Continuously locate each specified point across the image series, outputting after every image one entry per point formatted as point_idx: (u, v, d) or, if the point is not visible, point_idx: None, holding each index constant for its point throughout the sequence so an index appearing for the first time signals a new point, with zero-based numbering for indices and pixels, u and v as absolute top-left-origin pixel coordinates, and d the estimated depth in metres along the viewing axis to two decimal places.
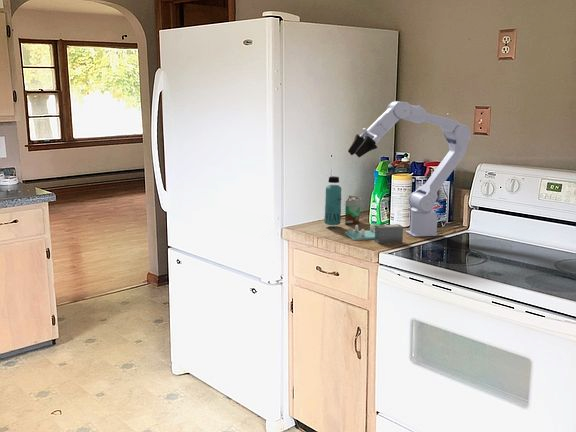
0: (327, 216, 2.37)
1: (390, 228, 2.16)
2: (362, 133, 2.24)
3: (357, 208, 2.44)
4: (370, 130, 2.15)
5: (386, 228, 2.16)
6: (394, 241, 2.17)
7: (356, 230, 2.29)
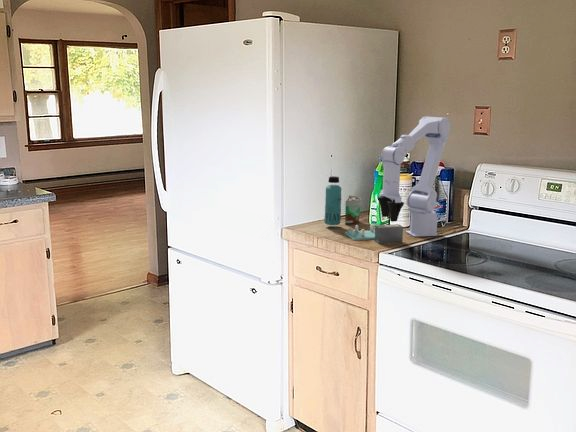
0: (327, 216, 2.37)
1: (390, 228, 2.16)
2: (380, 191, 2.22)
3: (357, 208, 2.44)
4: (386, 192, 2.13)
5: (386, 228, 2.16)
6: (394, 241, 2.17)
7: (356, 230, 2.29)
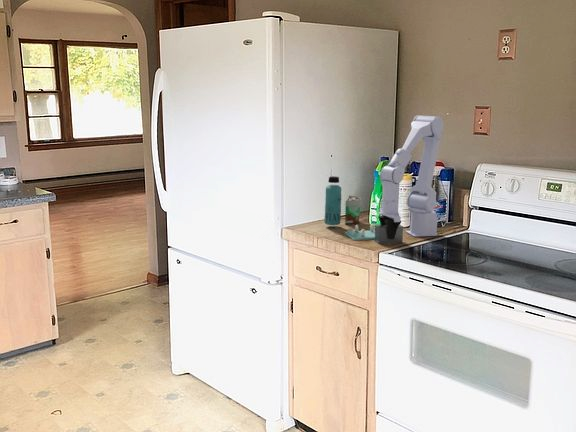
0: (327, 216, 2.37)
1: None
2: (380, 209, 2.23)
3: (357, 208, 2.44)
4: (385, 211, 2.15)
5: (386, 228, 2.16)
6: (394, 241, 2.17)
7: (356, 230, 2.29)
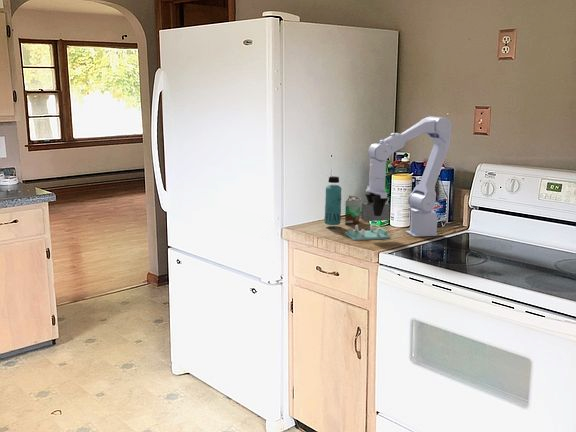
0: (327, 216, 2.37)
1: None
2: (367, 187, 2.26)
3: (357, 208, 2.44)
4: (372, 188, 2.18)
5: (373, 205, 2.19)
6: (381, 218, 2.21)
7: (356, 230, 2.29)
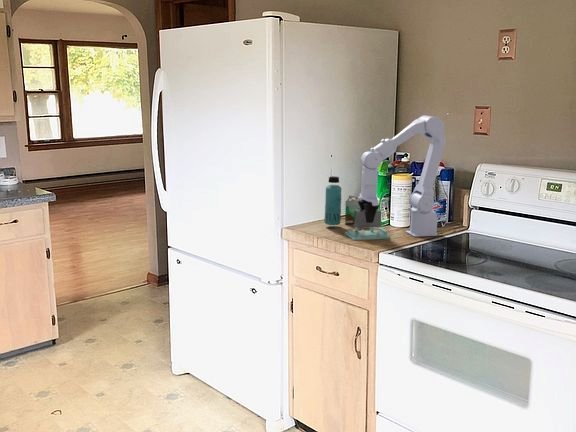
0: (327, 216, 2.37)
1: None
2: None
3: (357, 208, 2.44)
4: (364, 195, 2.22)
5: (365, 212, 2.23)
6: (372, 225, 2.25)
7: (356, 230, 2.29)
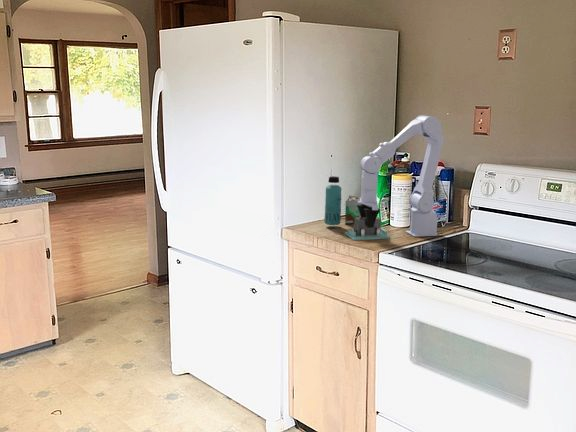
0: (327, 216, 2.37)
1: None
2: (359, 198, 2.31)
3: (357, 208, 2.44)
4: (364, 200, 2.22)
5: (364, 220, 2.24)
6: (372, 233, 2.25)
7: None
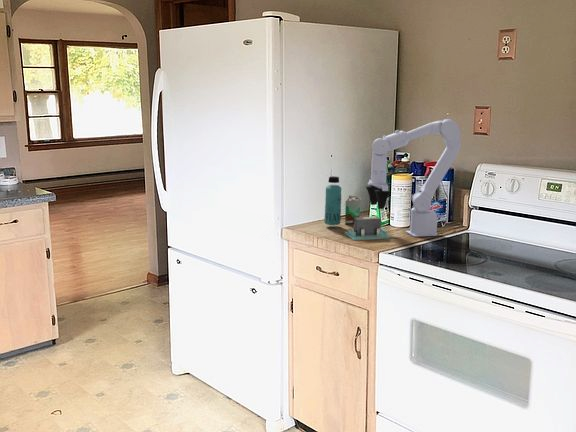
0: (327, 216, 2.37)
1: (368, 220, 2.24)
2: (369, 180, 2.35)
3: (357, 208, 2.44)
4: (374, 181, 2.27)
5: (364, 220, 2.24)
6: (372, 233, 2.25)
7: None
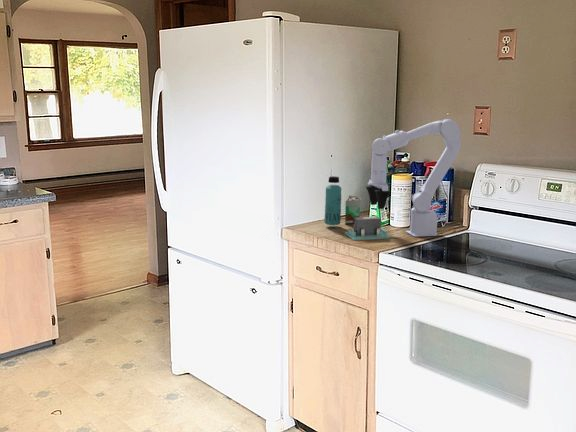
0: (327, 216, 2.37)
1: (368, 220, 2.24)
2: (369, 180, 2.35)
3: (357, 208, 2.44)
4: (374, 181, 2.27)
5: (364, 220, 2.24)
6: (372, 233, 2.25)
7: None
